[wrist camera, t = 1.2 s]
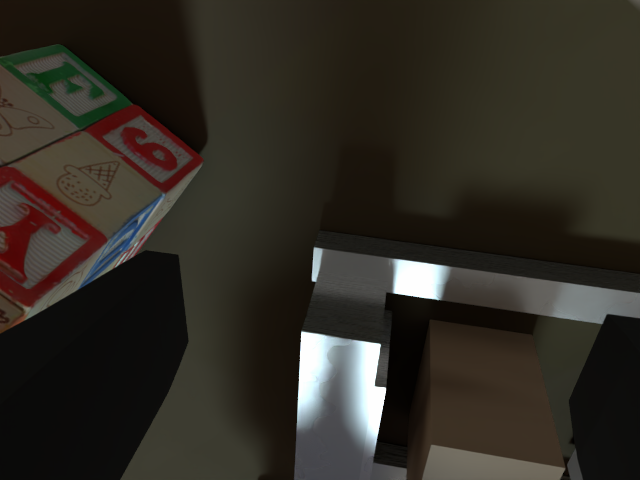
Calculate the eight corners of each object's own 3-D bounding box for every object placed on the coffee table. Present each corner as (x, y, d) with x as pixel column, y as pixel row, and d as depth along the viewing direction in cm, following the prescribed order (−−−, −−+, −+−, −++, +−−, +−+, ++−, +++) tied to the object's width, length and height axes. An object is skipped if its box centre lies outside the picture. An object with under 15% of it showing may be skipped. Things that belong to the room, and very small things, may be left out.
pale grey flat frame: (703, 520, 25) (753, 630, 21) (305, 447, 27) (285, 535, 23) (876, 306, 18) (996, 413, 14) (319, 230, 20) (294, 305, 16)
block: (496, 432, 24) (515, 569, 19) (408, 417, 25) (403, 547, 20) (532, 333, 21) (565, 468, 16) (430, 318, 21) (431, 444, 16)
